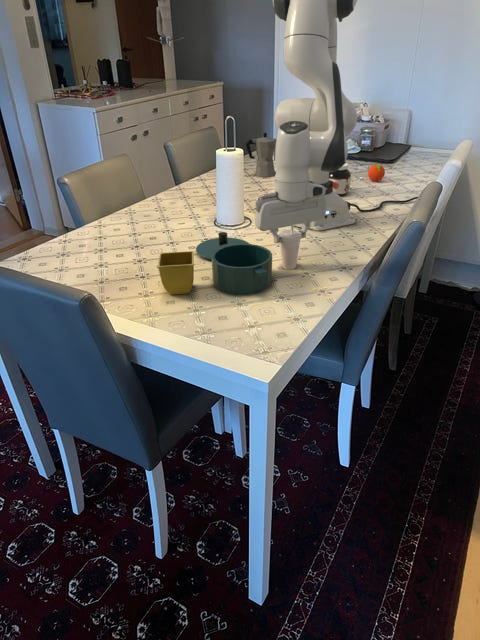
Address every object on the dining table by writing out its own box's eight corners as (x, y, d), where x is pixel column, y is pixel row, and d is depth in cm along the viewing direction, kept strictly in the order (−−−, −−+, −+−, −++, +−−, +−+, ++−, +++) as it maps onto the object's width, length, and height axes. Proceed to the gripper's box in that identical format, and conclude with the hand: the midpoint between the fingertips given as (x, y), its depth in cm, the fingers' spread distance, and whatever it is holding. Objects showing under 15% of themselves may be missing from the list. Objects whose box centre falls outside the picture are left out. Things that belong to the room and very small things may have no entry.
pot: (247, 260, 142) (247, 236, 138) (289, 289, 126) (289, 262, 122) (199, 273, 135) (197, 248, 132) (236, 305, 120) (235, 277, 116)
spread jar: (336, 198, 189) (338, 168, 183) (313, 192, 197) (315, 163, 191) (355, 192, 196) (358, 162, 190) (333, 186, 204) (335, 158, 197)
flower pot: (163, 283, 131) (159, 252, 126) (196, 281, 131) (193, 250, 127) (161, 299, 123) (157, 266, 119) (196, 297, 124) (193, 264, 119)
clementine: (386, 184, 205) (388, 166, 202) (369, 184, 205) (371, 167, 202) (381, 178, 212) (383, 162, 208) (365, 179, 212) (367, 162, 209)
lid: (234, 237, 158) (233, 220, 155) (261, 254, 146) (261, 236, 143) (187, 248, 151) (185, 230, 148) (211, 267, 139) (210, 248, 136)
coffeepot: (276, 170, 228) (276, 129, 218) (282, 175, 220) (282, 133, 210) (243, 173, 225) (243, 132, 216) (248, 178, 217) (248, 136, 208)
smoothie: (299, 272, 135) (301, 223, 128) (276, 270, 136) (276, 222, 129) (301, 262, 140) (303, 215, 133) (279, 261, 141) (280, 214, 134)
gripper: (261, 199, 121) (261, 251, 128) (331, 187, 128) (327, 237, 135) (250, 192, 126) (250, 243, 133) (317, 181, 133) (315, 229, 140)
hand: (290, 239), depth 134 cm, fingers closed on smoothie, 6 cm apart
